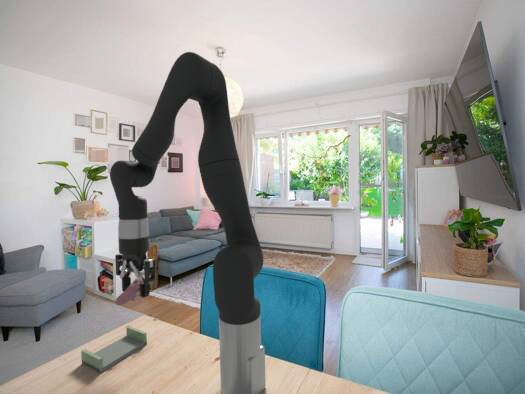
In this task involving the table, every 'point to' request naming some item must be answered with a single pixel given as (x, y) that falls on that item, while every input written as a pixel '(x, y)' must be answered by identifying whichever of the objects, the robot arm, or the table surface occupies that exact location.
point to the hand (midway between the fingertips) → (135, 293)
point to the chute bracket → (115, 350)
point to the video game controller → (130, 293)
